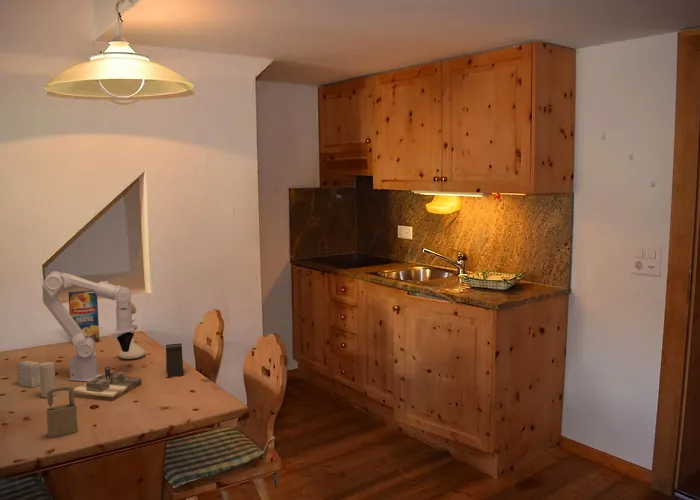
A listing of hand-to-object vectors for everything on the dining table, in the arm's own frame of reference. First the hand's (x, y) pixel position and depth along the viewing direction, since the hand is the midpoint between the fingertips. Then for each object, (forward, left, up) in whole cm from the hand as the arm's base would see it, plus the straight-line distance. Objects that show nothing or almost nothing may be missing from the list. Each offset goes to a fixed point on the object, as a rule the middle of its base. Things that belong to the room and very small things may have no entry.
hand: (125, 351), depth 241 cm
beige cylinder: (-13, -28, -10) cm, 32 cm away
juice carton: (-48, +38, -10) cm, 62 cm away
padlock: (+14, -54, -10) cm, 57 cm away
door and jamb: (+4, -18, -9) cm, 21 cm away
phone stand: (+18, +6, -10) cm, 21 cm away
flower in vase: (-12, +21, -10) cm, 26 cm away
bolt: (+4, -20, -7) cm, 22 cm away
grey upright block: (-28, -20, -10) cm, 36 cm away
